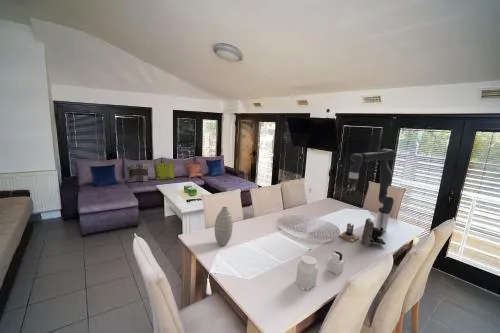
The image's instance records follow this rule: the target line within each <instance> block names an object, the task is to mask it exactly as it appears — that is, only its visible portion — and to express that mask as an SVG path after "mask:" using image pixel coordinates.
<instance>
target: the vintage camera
mask: <svg viewBox="0 0 500 333" xmlns="http://www.w3.org/2000/svg"><path fill="white" fill-rule="evenodd" d="M383 230H384V229H383V228H382V227H381V229H380V230H379V229H378V228H375V223H374V222H373V221H372V219H371V218H366V219H365V222H364V227H363V231H362V235H361V239H362V241H363V243H364V245H365V246H369V245H370V244H371V243H373V244H378V245H379V244H380V245H384V246H385V245H387V243H386V242H385V241H384V240H383V238H381V237H382V236H383V234H384V232H382V231H383Z"/></svg>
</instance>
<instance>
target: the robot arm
mask: <svg viewBox="0 0 500 333" xmlns="http://www.w3.org/2000/svg"><path fill="white" fill-rule="evenodd" d="M396 156H397V154H396V151H395V150H393V149H388V148H382V149H380V151H379V152H363V153H361V152H359V153H356V152H355V153H352V154H351V155H350V157H349V159H350V161H351V162H352V163H353V164H351V165H350V168H349V173H348V180H347V182H348V183H349V184H347V185H346V189H345V192H346V197H350V195H352V196H354V195H355V192H356V190H357V187H358V181H359V174H360V168H361V166H362V164H363V162H369V161H379V166H380V167H379V168H380V169H379V171H380V172H379V191H378V192H379V193H378V202H379V203H380V204H382V207H378V209H377V210H378V211H377V216H376V221H375V224H374V227H375V228H378V229H379V230H380V229H381V227H382V228H383V229H384V230H383V231H381V232H382V233H384V232H385V233H386V232H387V228H388V224H389V219H390V214H391V212H392V209H393V206H394V202H395V201H394V198H393V197H392V196H390V195H388V189H389V187H390V186H391V183H393V182H392V181H393V173H392V170H391V168H390V166H389V162H388V161H392V160H394V159H395V158H396Z"/></svg>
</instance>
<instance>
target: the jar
mask: <svg viewBox="0 0 500 333" xmlns="http://www.w3.org/2000/svg"><path fill="white" fill-rule="evenodd" d="M296 269H297V270H296V276H295V284H296V283H297V284H298V285H299V286H300V287H302V288H304V289H303V290H305V289H310V288H311V287H312V286H314V287H316V286H317V282H318V281H317V279H318V273H319V268H318V266H317V260H316V258H315V257H313V256H311V255H303V256H301V260H300V261H299V262H298V264H297V268H296ZM297 284H296V285H297ZM298 285H297V286H298ZM315 285H316V286H315ZM299 286H298V287H299ZM300 287H299V288H300ZM302 288H301V289H302ZM312 288H313V287H312ZM312 288H311V289H312ZM311 289H310V290H311Z"/></svg>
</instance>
